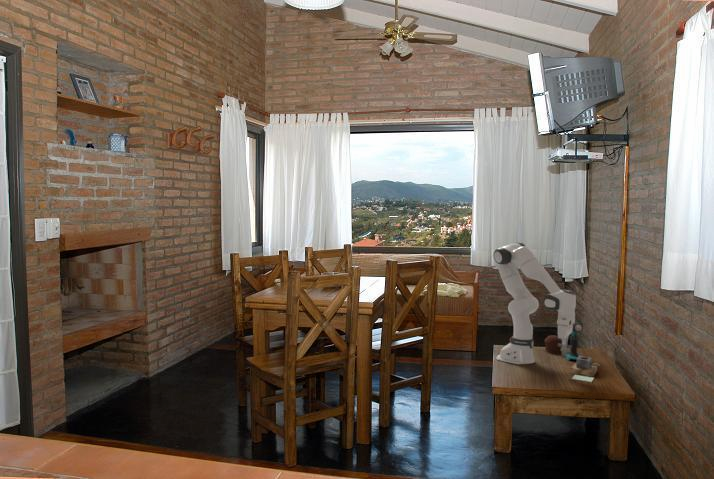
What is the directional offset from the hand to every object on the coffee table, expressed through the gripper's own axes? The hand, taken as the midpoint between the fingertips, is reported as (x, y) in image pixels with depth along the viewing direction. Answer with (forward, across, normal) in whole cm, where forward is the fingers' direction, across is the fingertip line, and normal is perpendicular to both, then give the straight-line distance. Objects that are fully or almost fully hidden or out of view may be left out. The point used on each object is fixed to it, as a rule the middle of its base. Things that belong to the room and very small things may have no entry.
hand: (564, 343), depth 314 cm
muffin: (+19, -49, -16) cm, 55 cm away
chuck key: (+8, 0, 0) cm, 8 cm away
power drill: (+18, -35, -1) cm, 39 cm away
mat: (+17, +2, +11) cm, 21 cm away
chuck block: (+17, -11, +10) cm, 23 cm away
